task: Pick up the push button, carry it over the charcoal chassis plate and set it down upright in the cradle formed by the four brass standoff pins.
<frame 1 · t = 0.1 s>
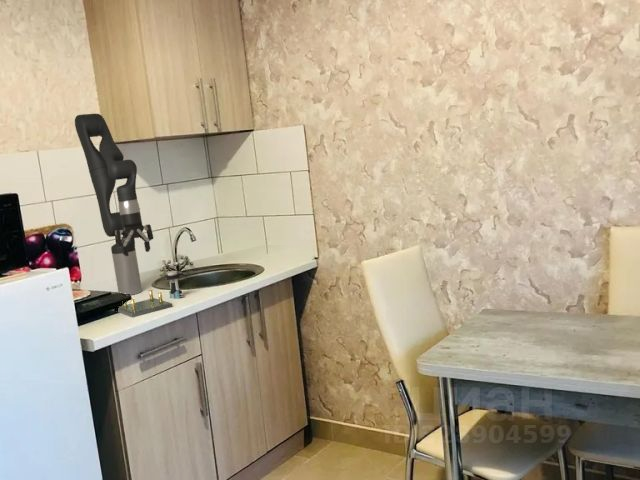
hand: (137, 253, 251), 17 cm above the table, tool pointing down, fingers open, 8 cm apart
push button: (177, 298, 246), on the table
chassis: (143, 308, 233), on the table
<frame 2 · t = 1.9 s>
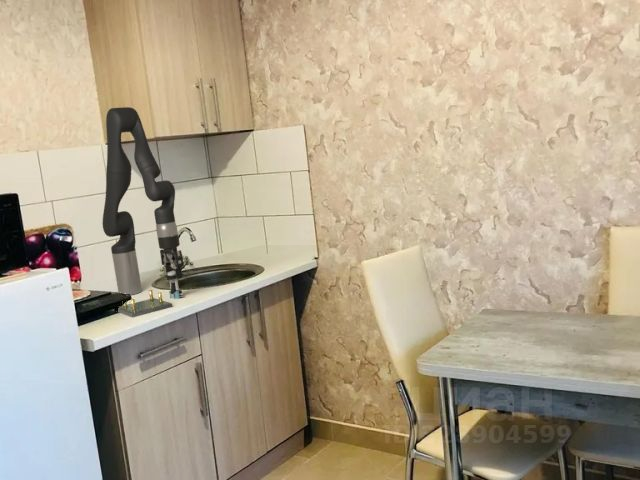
hand: (174, 277, 244), 8 cm above the table, tool pointing down, fingers open, 8 cm apart
nothing on the table moved.
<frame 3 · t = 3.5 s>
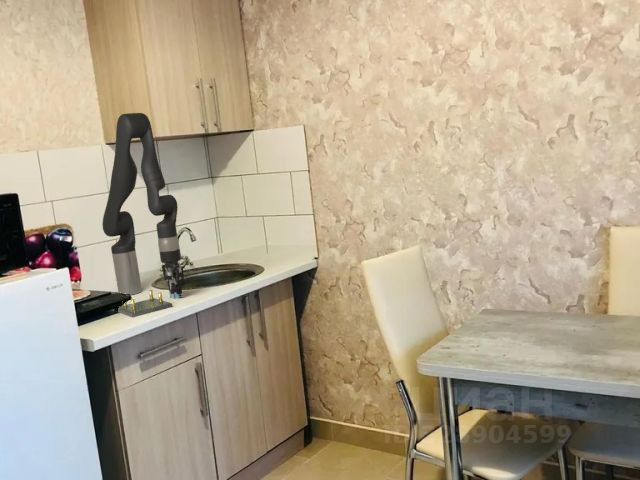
hand: (175, 292, 245), 2 cm above the table, tool pointing down, fingers closed on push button, 5 cm apart
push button: (177, 298, 245), on the table, touching gripper
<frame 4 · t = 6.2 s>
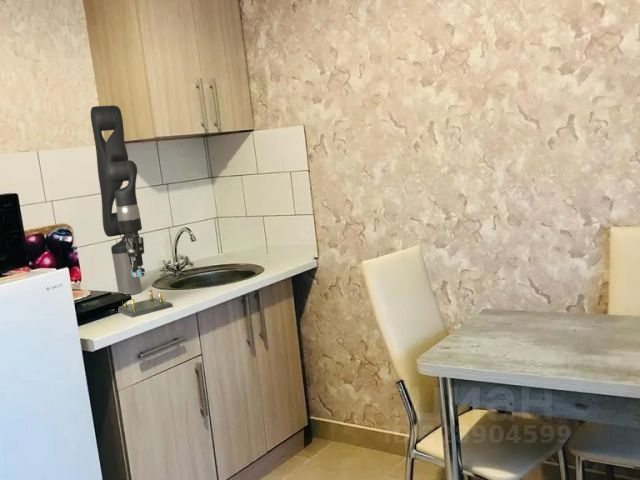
hand: (136, 264, 231), 16 cm above the table, tool pointing down, fingers closed on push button, 5 cm apart
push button: (139, 276, 231), point 12 cm above the table, touching gripper
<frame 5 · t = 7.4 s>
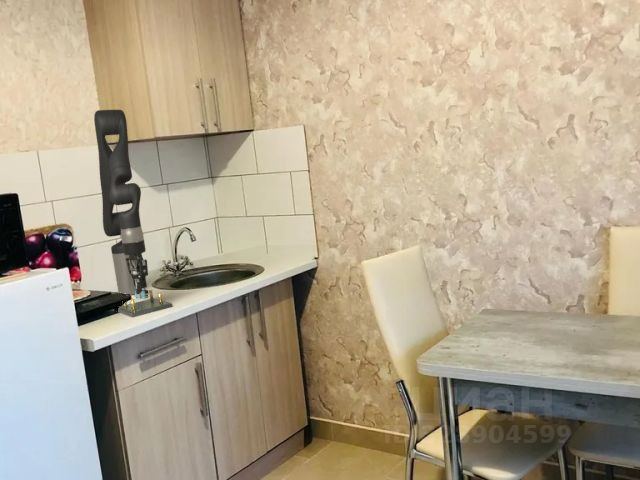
hand: (140, 286, 232), 8 cm above the table, tool pointing down, fingers closed on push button, 5 cm apart
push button: (143, 298, 232), point 4 cm above the table, touching gripper
when the fingers open (4 cm above the table, at t = 9.0 s): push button stays where it is, resting on chassis.
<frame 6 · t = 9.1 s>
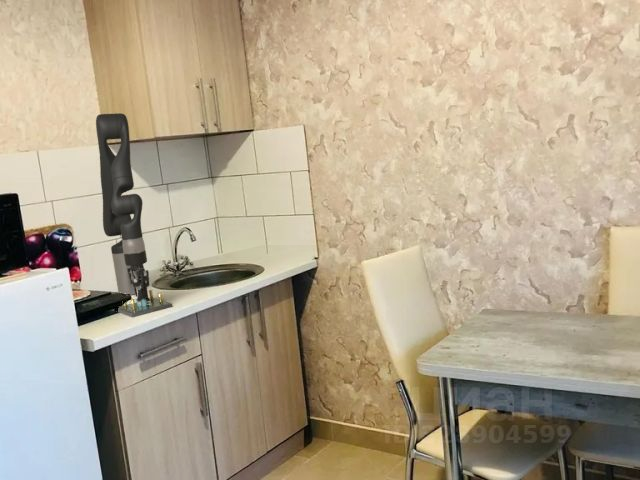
hand: (141, 297, 233), 4 cm above the table, tool pointing down, fingers open, 5 cm apart
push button: (144, 306, 233), point 1 cm above the table, touching chassis, gripper
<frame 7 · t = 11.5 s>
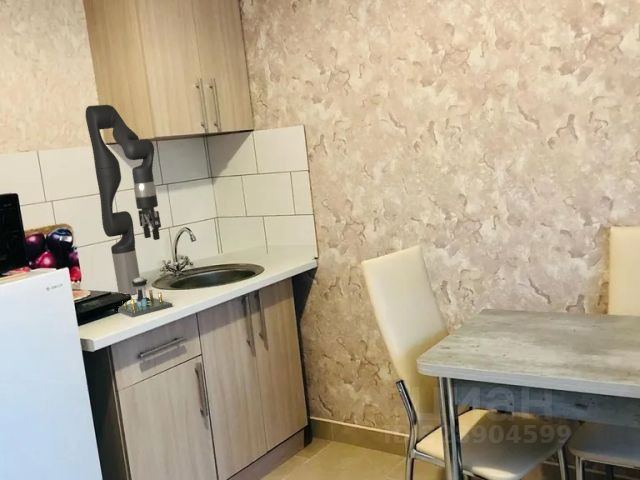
hand: (152, 238, 239), 24 cm above the table, tool pointing down, fingers open, 8 cm apart
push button: (144, 306, 233), point 1 cm above the table, touching chassis
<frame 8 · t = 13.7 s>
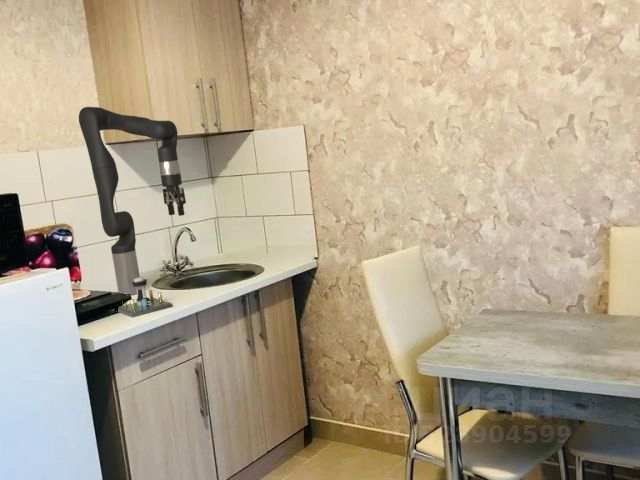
hand: (176, 215, 251), 30 cm above the table, tool pointing down, fingers open, 8 cm apart
nothing on the table moved.
at the end: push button 0.7 cm off-centre on the chassis, point 1.1 cm above the chassis's base; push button tilted 0°; the gripper is holding nothing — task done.
